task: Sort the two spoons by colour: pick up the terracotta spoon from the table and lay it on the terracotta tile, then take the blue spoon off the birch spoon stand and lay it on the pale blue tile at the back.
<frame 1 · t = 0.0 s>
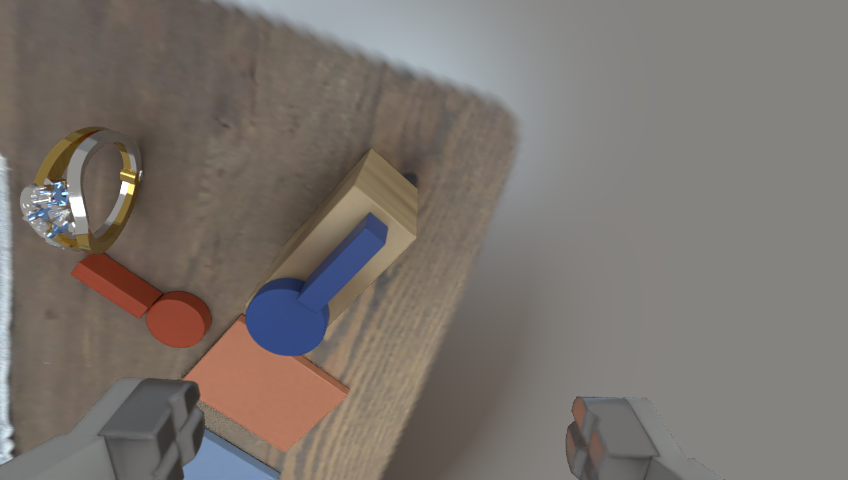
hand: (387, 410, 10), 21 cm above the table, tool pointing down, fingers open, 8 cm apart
ring: (138, 172, 30), on the table
blue tile: (193, 472, 40), on the table
spoon stand: (350, 217, 31), on the table
blue spoon: (327, 273, 24), point 8 cm above the table, touching spoon stand
terracotta tile: (266, 383, 37), on the table
terracotta spoon: (146, 290, 33), on the table
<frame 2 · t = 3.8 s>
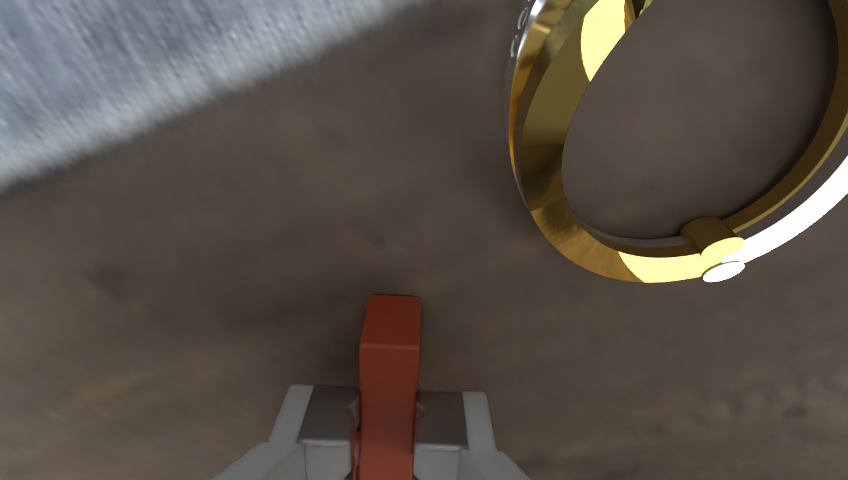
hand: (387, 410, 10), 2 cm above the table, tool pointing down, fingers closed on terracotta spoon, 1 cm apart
ring: (713, 274, 10), on the table
terracotta spoon: (390, 425, 13), on the table, touching gripper
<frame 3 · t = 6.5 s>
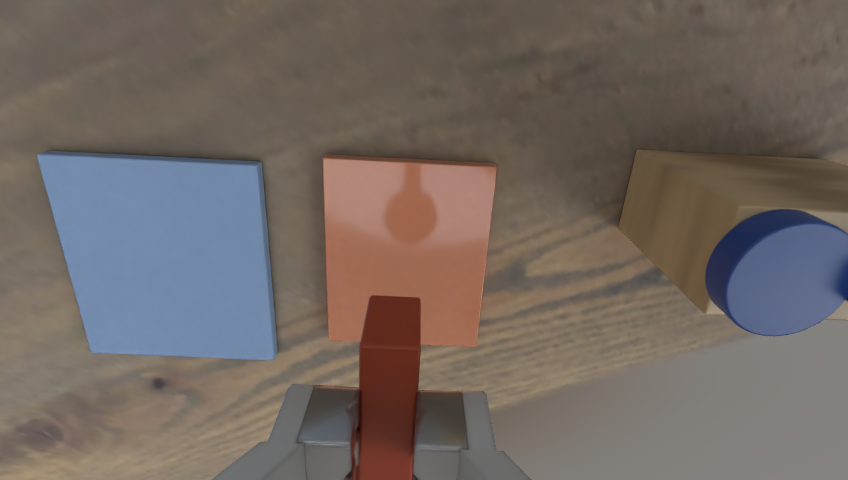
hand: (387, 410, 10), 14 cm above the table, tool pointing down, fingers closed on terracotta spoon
blue tile: (174, 260, 24), on the table
spoon stand: (718, 194, 23), on the table
terracotta tile: (406, 254, 24), on the table
terracotta spoon: (390, 425, 13), point 12 cm above the table, touching gripper
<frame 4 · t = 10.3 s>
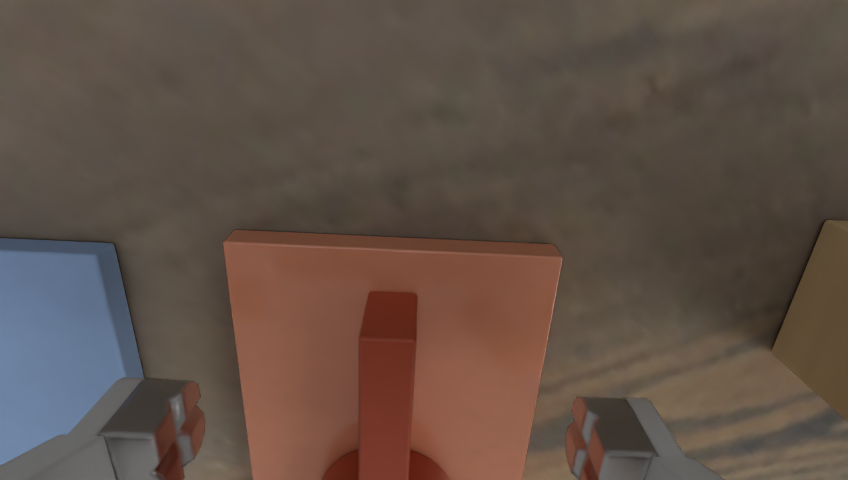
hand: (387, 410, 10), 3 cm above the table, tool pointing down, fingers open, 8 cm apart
terracotta tile: (391, 394, 14), on the table
terracotta spoon: (388, 417, 13), point 1 cm above the table, touching terracotta tile
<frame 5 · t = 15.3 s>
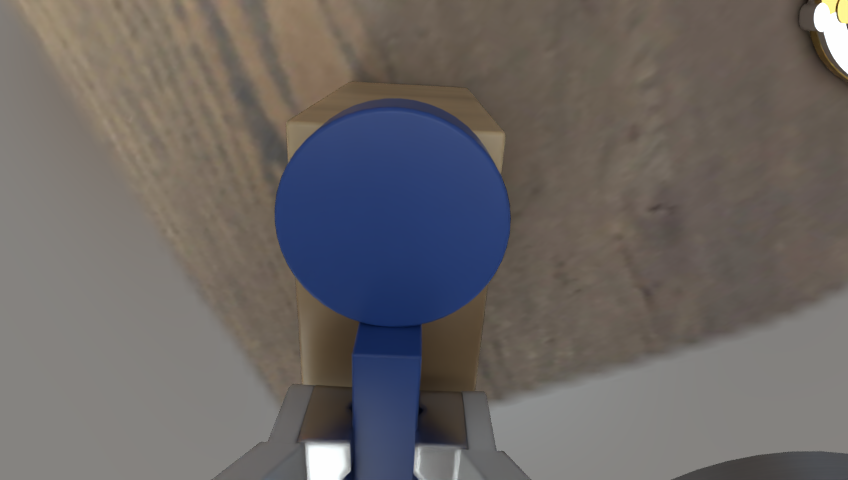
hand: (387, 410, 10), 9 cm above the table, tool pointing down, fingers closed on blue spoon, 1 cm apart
ring: (798, 22, 15), on the table
spoon stand: (403, 211, 18), on the table
blue spoon: (392, 336, 10), point 8 cm above the table, touching gripper, spoon stand
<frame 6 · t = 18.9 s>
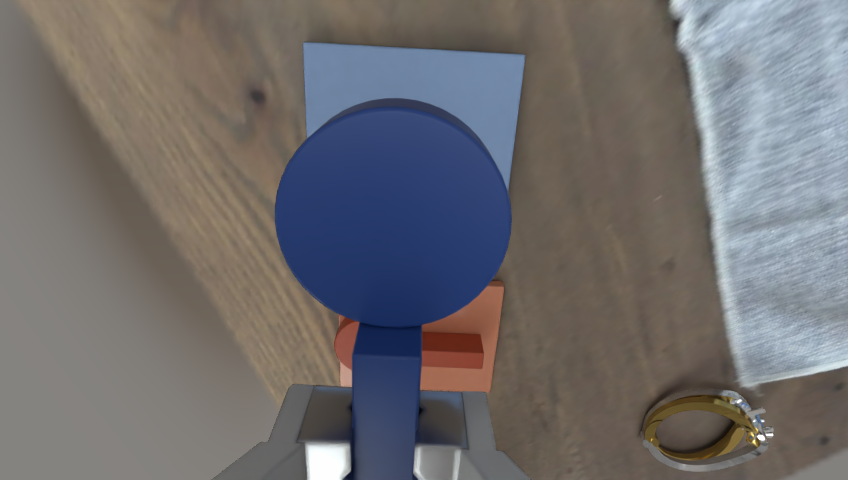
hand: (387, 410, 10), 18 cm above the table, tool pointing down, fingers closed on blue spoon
ring: (638, 439, 34), on the table
blue tile: (410, 146, 26), on the table
blue spoon: (392, 336, 10), point 17 cm above the table, touching gripper
terracotta tile: (418, 331, 31), on the table
terracotta spoon: (416, 338, 30), point 1 cm above the table, touching terracotta tile
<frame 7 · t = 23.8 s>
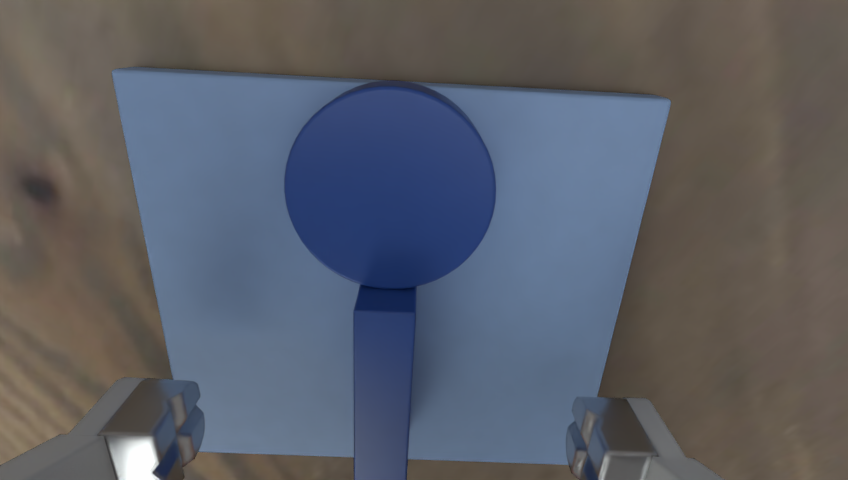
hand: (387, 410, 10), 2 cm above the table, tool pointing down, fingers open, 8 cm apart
blue tile: (391, 288, 12), on the table
blue spoon: (389, 302, 11), point 1 cm above the table, touching blue tile
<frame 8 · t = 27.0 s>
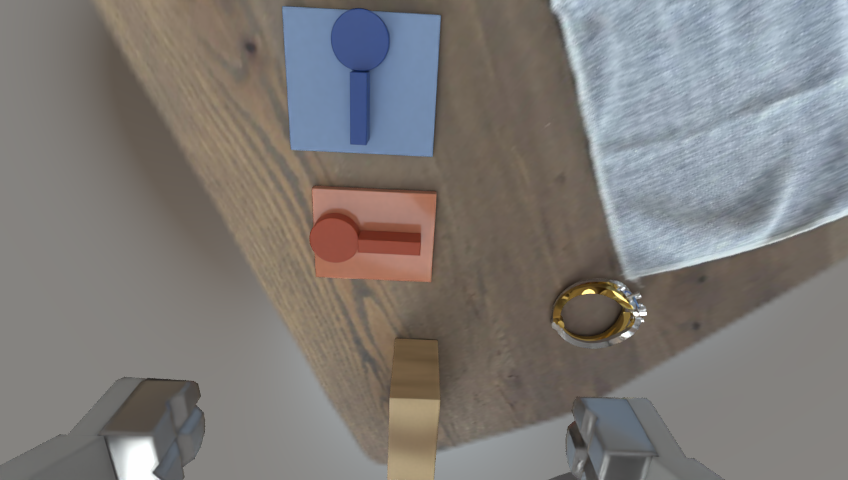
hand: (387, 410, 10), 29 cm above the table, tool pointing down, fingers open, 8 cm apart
ring: (549, 324, 43), on the table
blue tile: (363, 85, 35), on the table
spoon stand: (414, 377, 46), on the table
blue spoon: (361, 84, 35), point 1 cm above the table, touching blue tile
terracotta tile: (374, 233, 40), on the table
terracotta spoon: (372, 237, 39), point 1 cm above the table, touching terracotta tile
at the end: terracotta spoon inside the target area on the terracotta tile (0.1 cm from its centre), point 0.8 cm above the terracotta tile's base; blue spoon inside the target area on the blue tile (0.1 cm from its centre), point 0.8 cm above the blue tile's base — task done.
